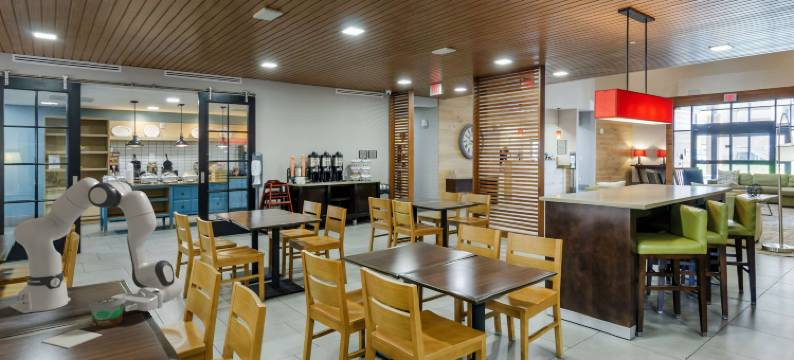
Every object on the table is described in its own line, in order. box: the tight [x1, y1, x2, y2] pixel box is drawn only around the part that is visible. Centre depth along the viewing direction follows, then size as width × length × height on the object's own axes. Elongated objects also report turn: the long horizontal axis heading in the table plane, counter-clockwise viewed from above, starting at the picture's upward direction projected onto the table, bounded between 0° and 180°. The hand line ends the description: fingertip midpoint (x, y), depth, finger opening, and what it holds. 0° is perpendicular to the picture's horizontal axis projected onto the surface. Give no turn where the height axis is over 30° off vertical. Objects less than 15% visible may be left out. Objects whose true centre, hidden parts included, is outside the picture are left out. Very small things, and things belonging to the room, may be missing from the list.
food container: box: [88, 297, 126, 329], centre depth 175 cm, size 12×6×10 cm, turn 118°
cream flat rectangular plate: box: [41, 328, 103, 349], centre depth 164 cm, size 14×12×1 cm
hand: (116, 307), depth 179 cm, fingers open, 8 cm apart
